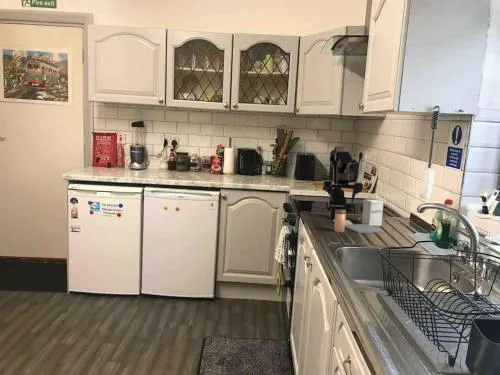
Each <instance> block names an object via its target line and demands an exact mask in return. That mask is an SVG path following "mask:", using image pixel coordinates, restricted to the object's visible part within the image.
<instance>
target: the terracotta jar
mask: <svg viewBox="0 0 500 375" xmlns="http://www.w3.org/2000/svg"><path fill="white" fill-rule="evenodd" d="M346 215H347V210H345V209H343V208H342V209H336V211H335V219H334V220H335V223H334V227H333V231H334V232H336V233H345V229H346V228H345V220H346V217H347V216H346Z"/></svg>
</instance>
